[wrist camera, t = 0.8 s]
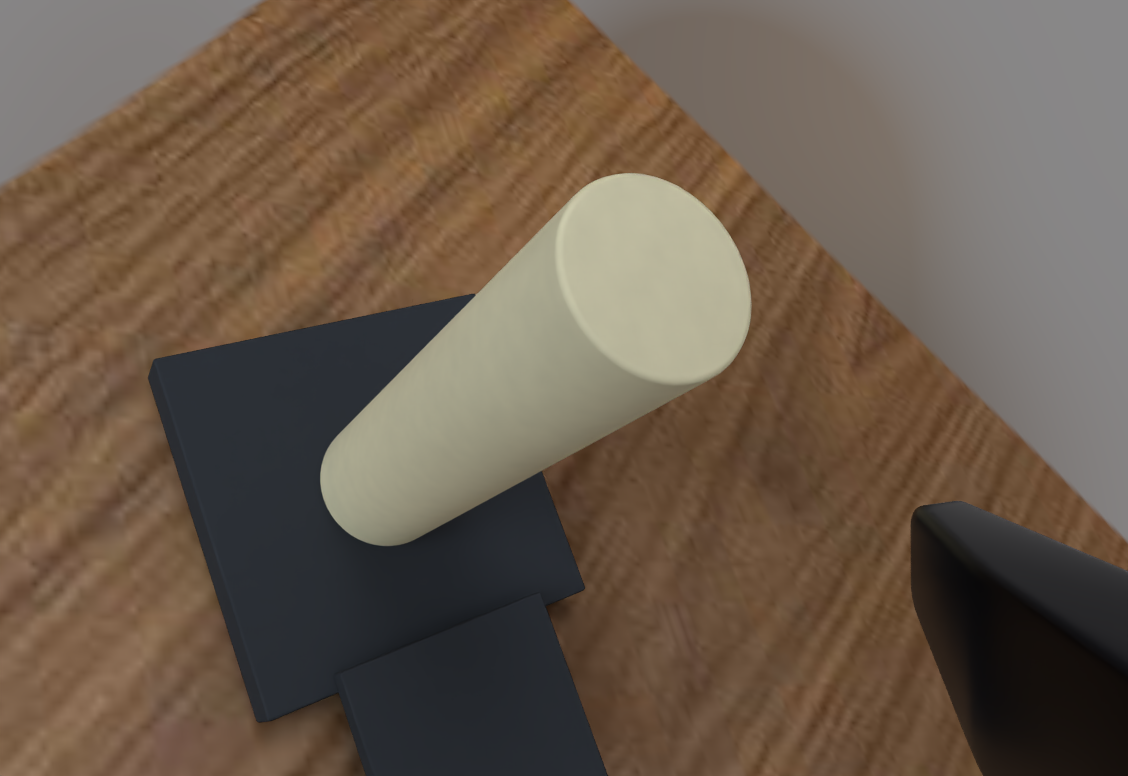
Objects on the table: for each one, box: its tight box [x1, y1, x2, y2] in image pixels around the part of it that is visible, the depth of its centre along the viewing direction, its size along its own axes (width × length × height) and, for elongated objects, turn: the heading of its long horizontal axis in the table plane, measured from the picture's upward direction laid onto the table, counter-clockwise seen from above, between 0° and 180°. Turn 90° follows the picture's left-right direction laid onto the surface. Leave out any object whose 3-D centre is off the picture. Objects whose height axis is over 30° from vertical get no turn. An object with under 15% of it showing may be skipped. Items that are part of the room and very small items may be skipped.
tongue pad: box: [148, 173, 751, 776], centre depth 18 cm, size 12×8×13 cm, turn 24°
